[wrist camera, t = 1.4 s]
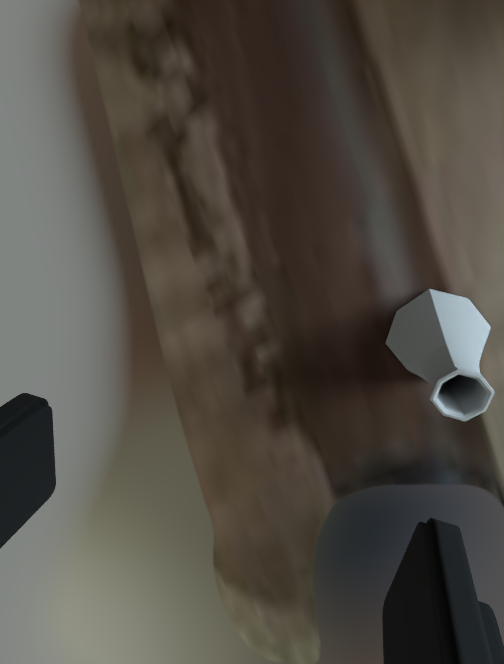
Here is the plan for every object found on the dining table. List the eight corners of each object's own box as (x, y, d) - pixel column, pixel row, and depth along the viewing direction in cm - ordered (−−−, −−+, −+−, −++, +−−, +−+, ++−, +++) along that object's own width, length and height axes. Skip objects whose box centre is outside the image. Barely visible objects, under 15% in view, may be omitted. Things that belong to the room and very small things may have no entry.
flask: (509, 323, 31) (567, 385, 22) (443, 391, 34) (471, 470, 25) (426, 271, 31) (450, 312, 22) (369, 344, 34) (369, 405, 25)
